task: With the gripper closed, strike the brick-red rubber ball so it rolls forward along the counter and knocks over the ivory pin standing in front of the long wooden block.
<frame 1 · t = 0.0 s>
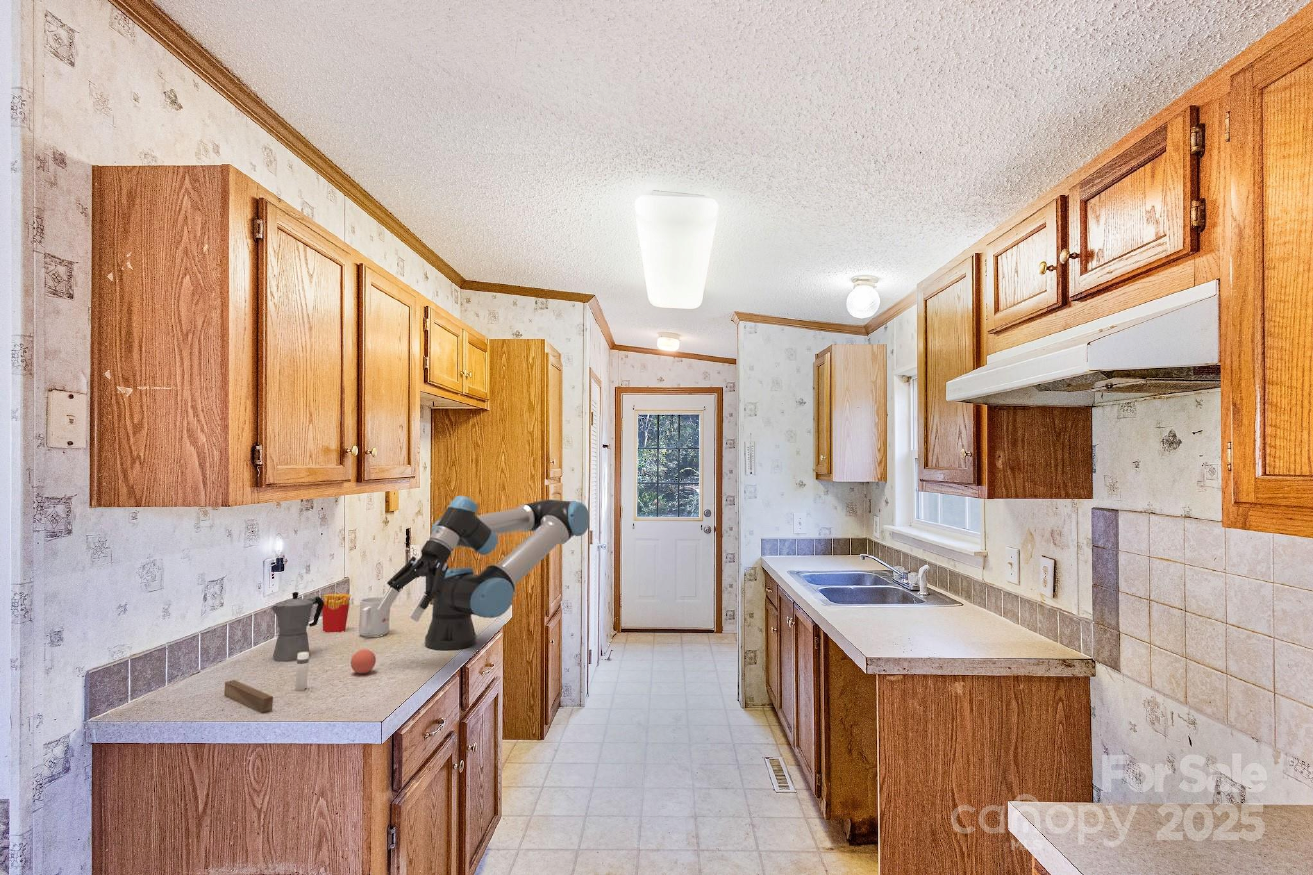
hand: (396, 615, 169), 15 cm above the countertop, tool tilted 35°, fingers open, 13 cm apart
coffeepot: (295, 656, 182), on the countertop
ball: (363, 661, 169), on the countertop
pin: (301, 688, 156), on the countertop
mug: (371, 636, 206), on the countertop
french fries: (334, 631, 210), on the countertop
long wooden block: (247, 702, 146), on the countertop
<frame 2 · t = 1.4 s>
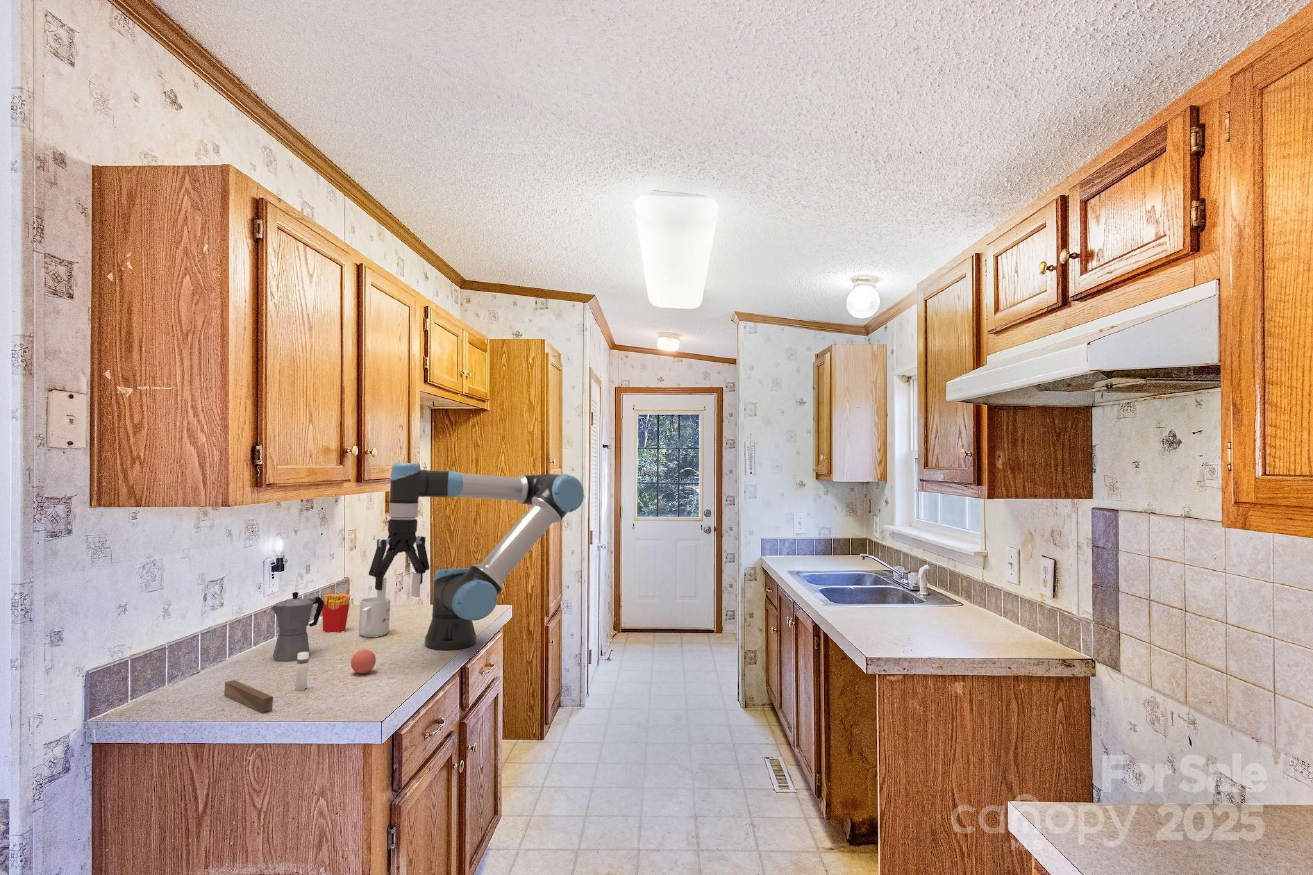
hand: (398, 599, 178), 18 cm above the countertop, tool pointing down, fingers open, 10 cm apart
nothing on the countertop moved.
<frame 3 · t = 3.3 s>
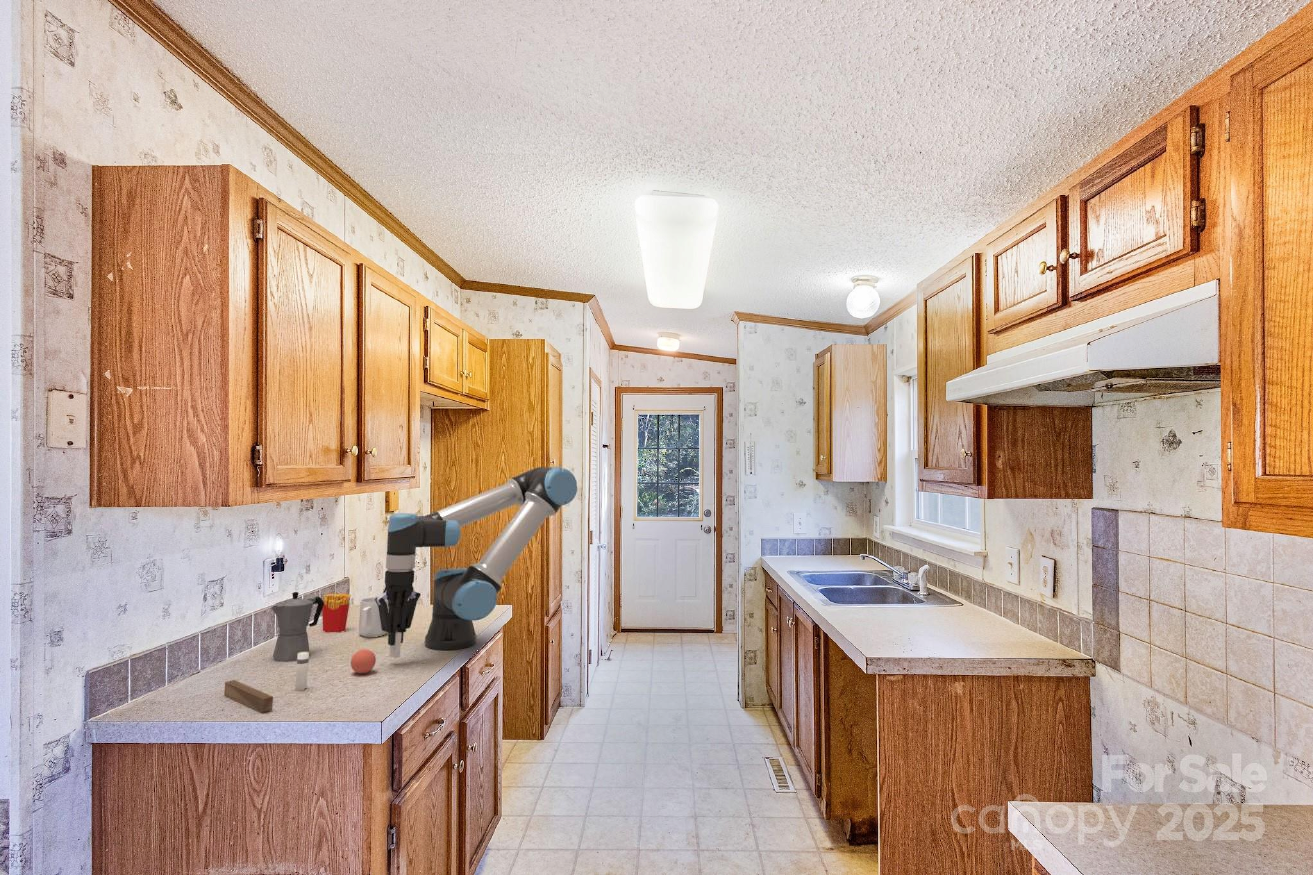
hand: (394, 656, 177), 2 cm above the countertop, tool pointing down, fingers closed
nothing on the countertop moved.
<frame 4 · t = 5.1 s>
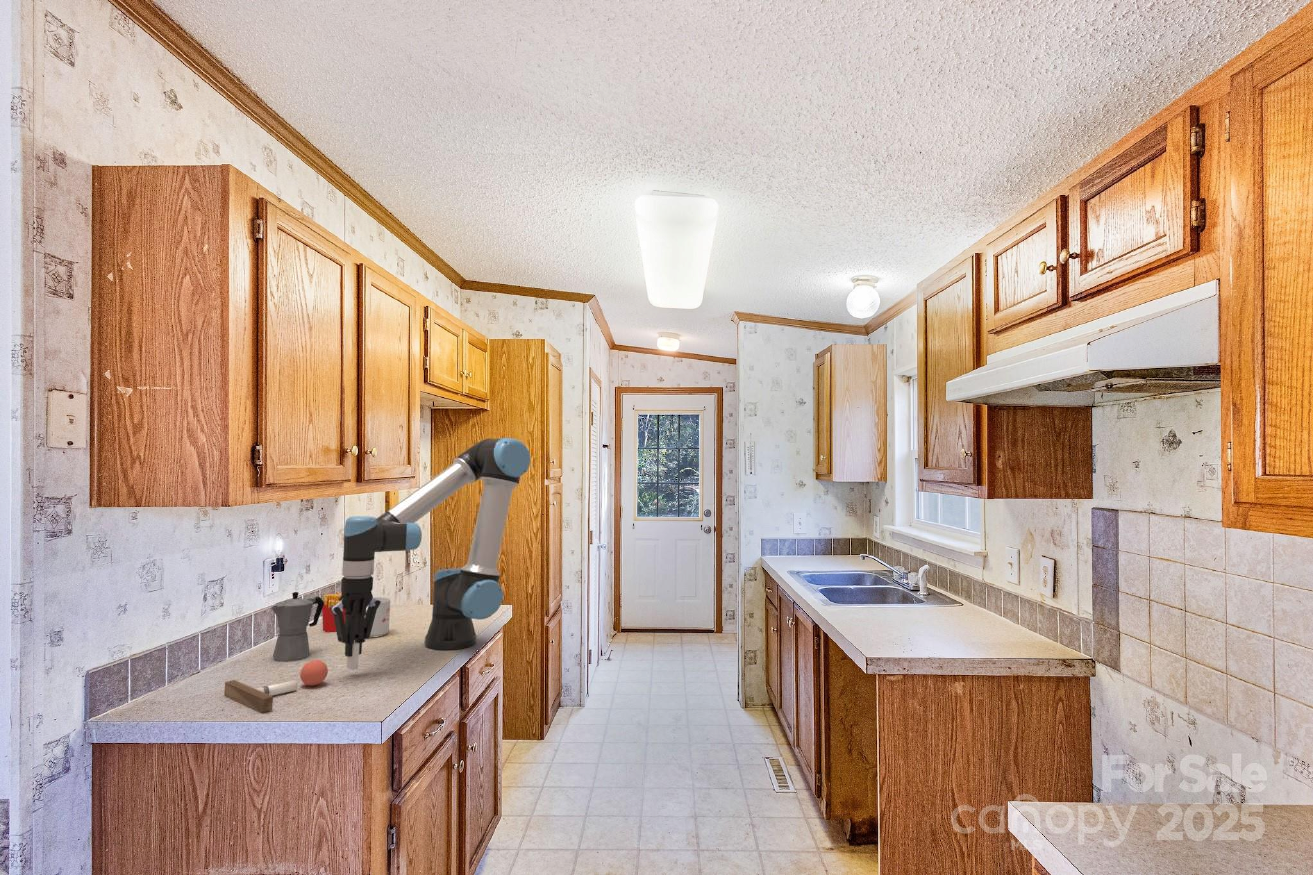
hand: (352, 668, 167), 2 cm above the countertop, tool pointing down, fingers closed
ball: (314, 672, 159), on the countertop
pin: (295, 685, 155), point 1 cm above the countertop, tilted 90°
everything else where it was.
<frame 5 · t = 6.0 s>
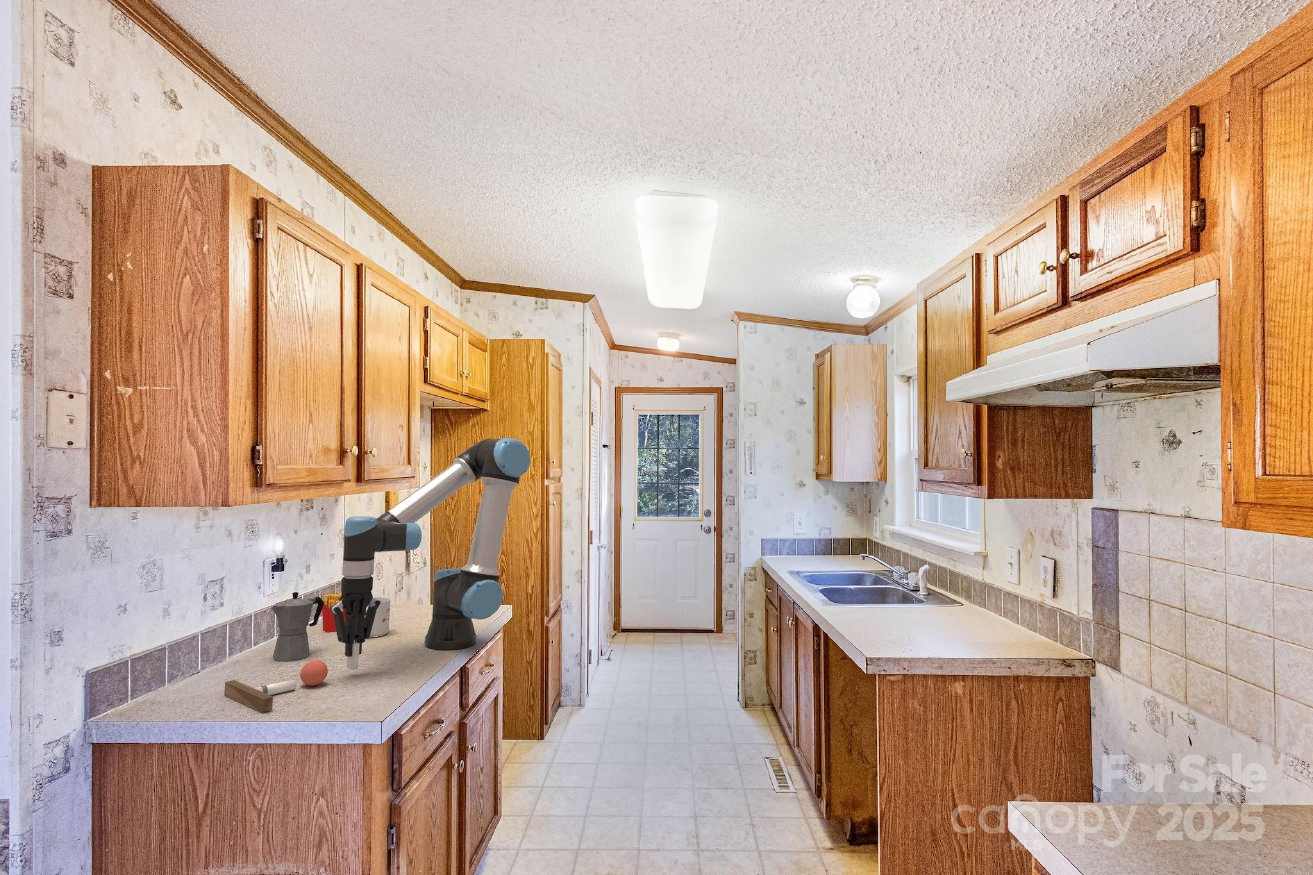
hand: (352, 668, 167), 2 cm above the countertop, tool pointing down, fingers closed
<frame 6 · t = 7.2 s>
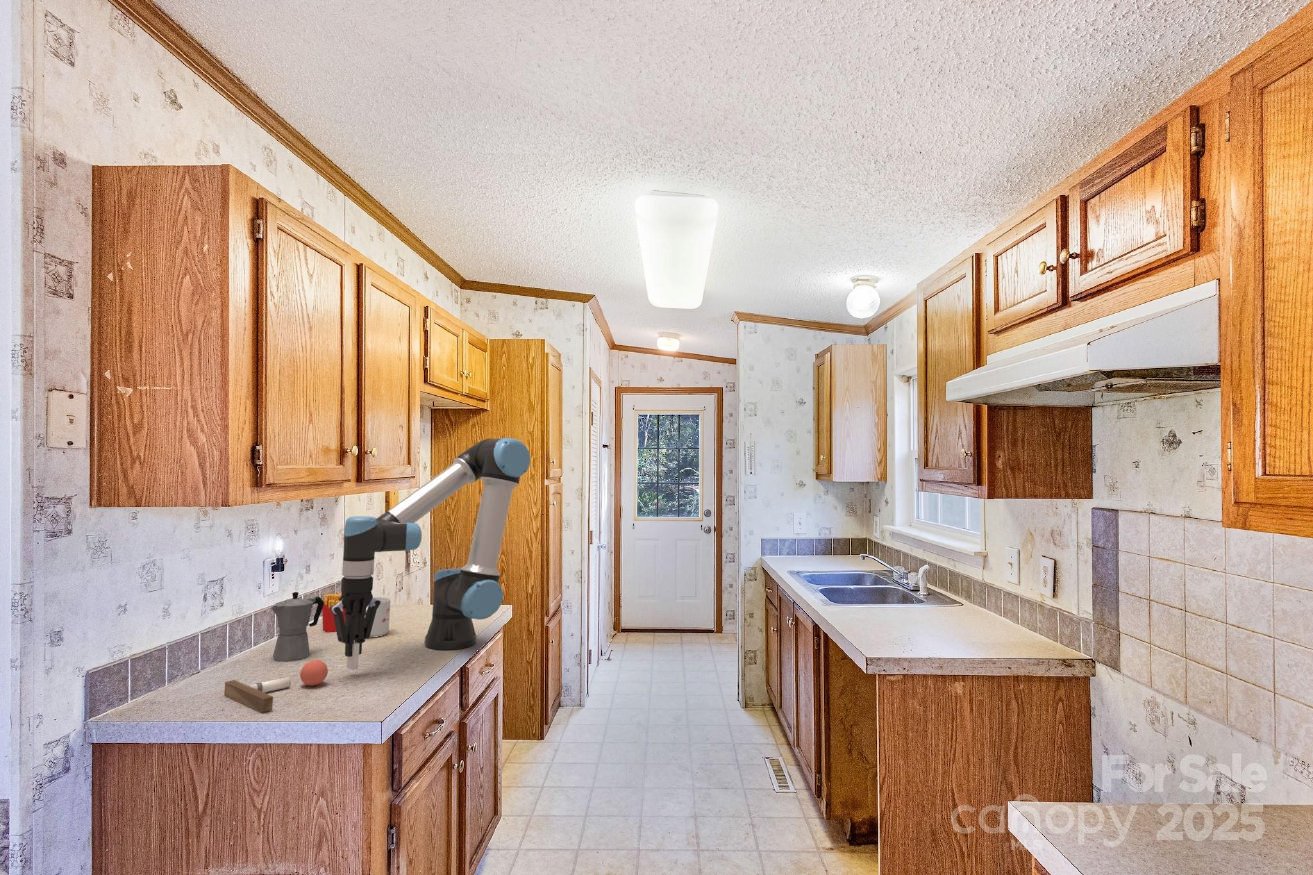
hand: (352, 668, 167), 2 cm above the countertop, tool pointing down, fingers closed
pin: (288, 681, 157), point 1 cm above the countertop, tilted 90°
everything else where it was.
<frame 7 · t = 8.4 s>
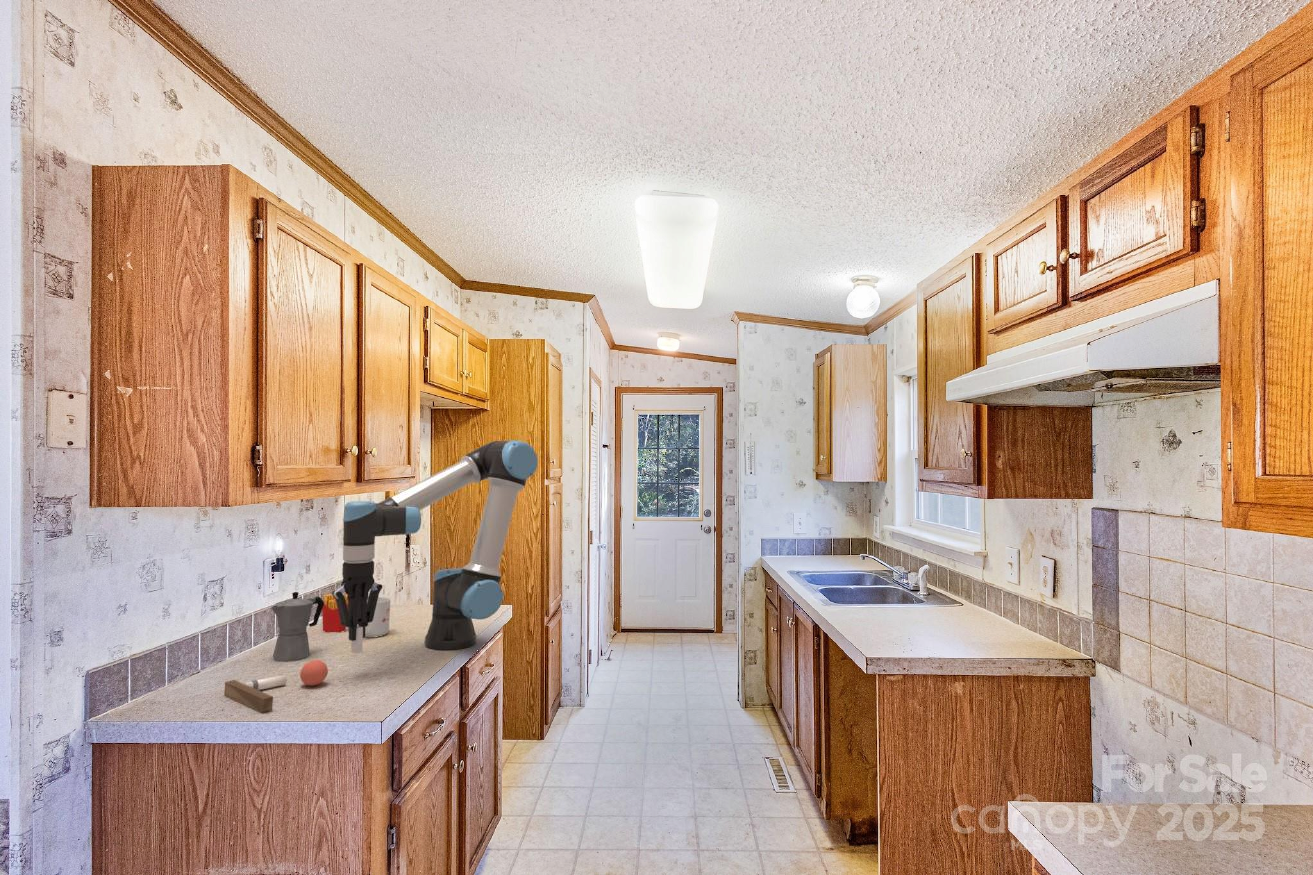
hand: (356, 651, 168), 6 cm above the countertop, tool pointing down, fingers closed
pin: (284, 679, 158), point 1 cm above the countertop, tilted 90°
everything else where it was.
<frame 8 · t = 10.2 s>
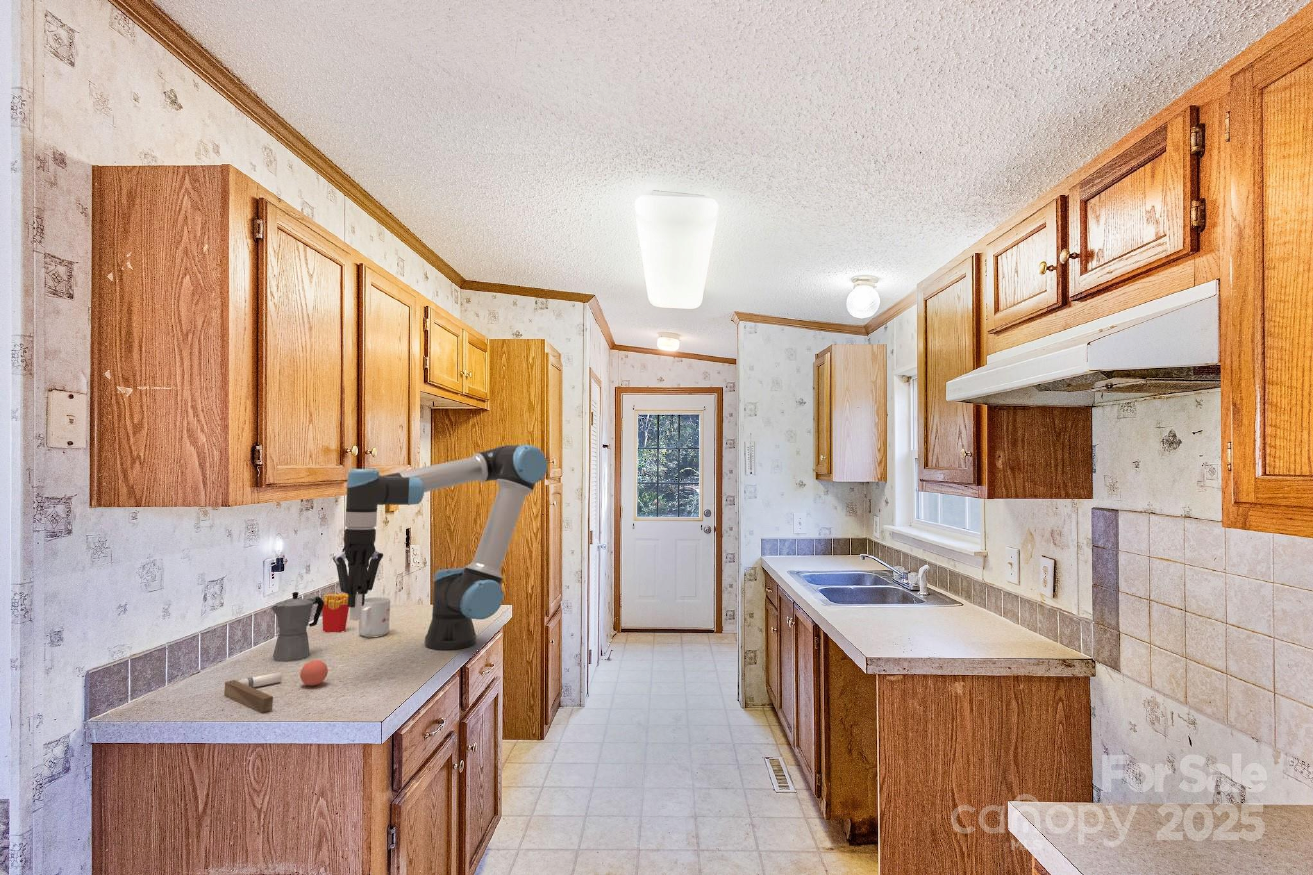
hand: (355, 619, 168), 14 cm above the countertop, tool pointing down, fingers closed
pin: (280, 677, 160), point 1 cm above the countertop, tilted 90°
everything else where it was.
at the end: pin tilted 90°; pin never touched the robot; ball moved 12.8 cm from its start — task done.
